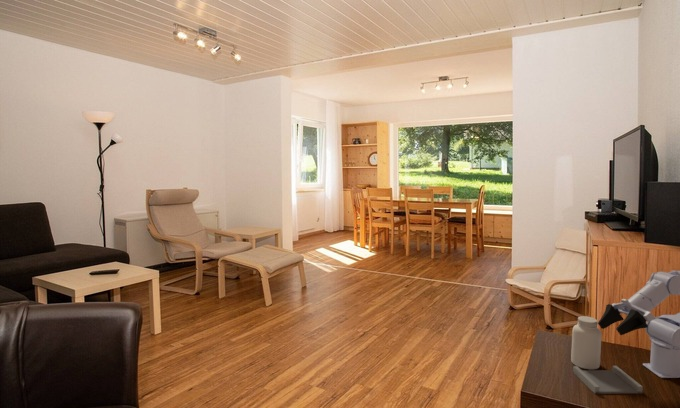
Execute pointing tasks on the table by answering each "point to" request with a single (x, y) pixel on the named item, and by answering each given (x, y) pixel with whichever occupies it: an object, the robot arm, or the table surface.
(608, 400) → the table surface
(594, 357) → the pill bottle
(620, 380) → the grey tray
